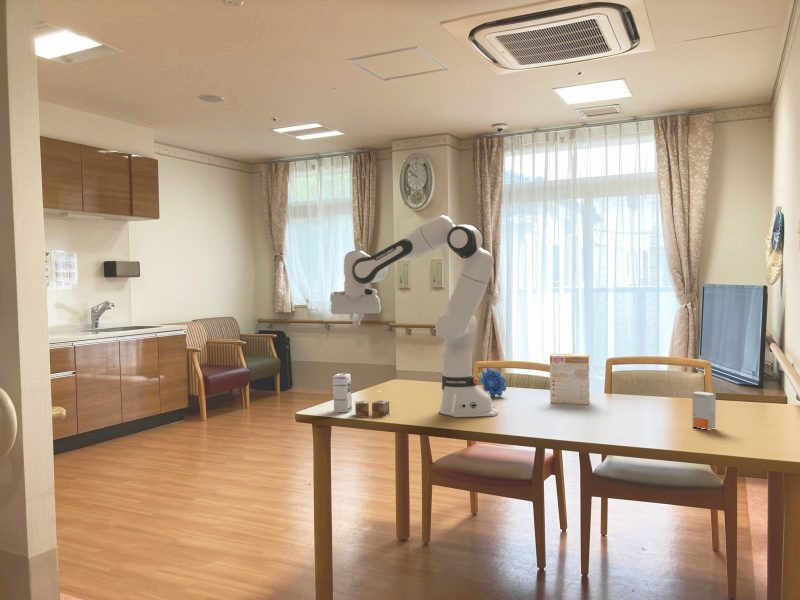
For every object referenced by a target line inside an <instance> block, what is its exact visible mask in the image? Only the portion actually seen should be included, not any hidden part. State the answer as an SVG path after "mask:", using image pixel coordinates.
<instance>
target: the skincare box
mask: <svg viewBox="0 0 800 600" xmlns="http://www.w3.org/2000/svg"><path fill="white" fill-rule="evenodd" d="M716 397H717V394H716V393H713V392H712V393H711V392H705V391H694V392H692V410H691V413H692V415H691V416H692V419H691V420H692V421H691V422H692V423H691V427H692V428H693V427H698V428H705V429H712V428H715V429H716V401H717V400H716V399H717V398H716ZM698 428H697V429H698Z"/></svg>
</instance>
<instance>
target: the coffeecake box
mask: <svg viewBox="0 0 800 600" xmlns="http://www.w3.org/2000/svg"><path fill="white" fill-rule="evenodd" d="M549 389H550V390H549V392H550V393H549V395H550V397H549V402H550V404H551V403H553V404H554V403H555V404H569V405H570V404H572V405H573V404H575V405H589V403H590V354H587V353H586V354H583V353H582V354H578V353H577V354H575V353H573V354H572V353H568V354H567V353H552V354H550V355H549Z"/></svg>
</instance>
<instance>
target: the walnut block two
mask: <svg viewBox="0 0 800 600" xmlns="http://www.w3.org/2000/svg"><path fill="white" fill-rule="evenodd" d="M388 414H389V415H390V401H388V400H376V401H373V402H372V403H371V416H372V415H373V416H372V417H380V416H385V417H386V415H387V416H389V415H388Z"/></svg>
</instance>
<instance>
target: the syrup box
mask: <svg viewBox="0 0 800 600" xmlns="http://www.w3.org/2000/svg"><path fill="white" fill-rule="evenodd" d="M351 375H352V374H351V373H345V372H344V373H337V374H335V375H333V376H332V390H333V391H332V393H333V412H334V413H338V412H348V413H349V412H350V411H352V409H353V405H352V378H351V377H352V376H351Z"/></svg>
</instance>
